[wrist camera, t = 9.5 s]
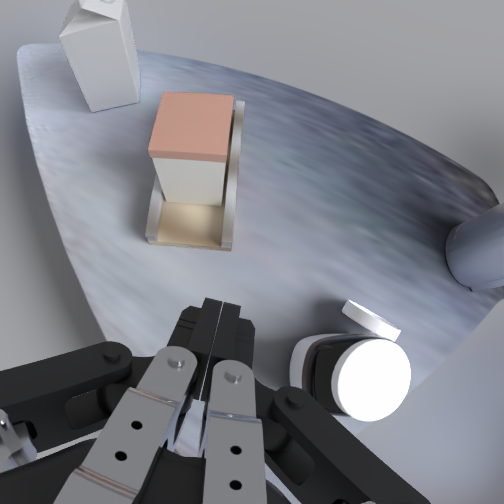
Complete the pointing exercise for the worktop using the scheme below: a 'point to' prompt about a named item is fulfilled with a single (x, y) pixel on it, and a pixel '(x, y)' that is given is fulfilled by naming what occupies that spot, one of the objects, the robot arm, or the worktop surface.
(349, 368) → the spread jar
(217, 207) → the track
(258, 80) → the worktop surface
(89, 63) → the milk carton
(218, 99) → the pink-topped white box
